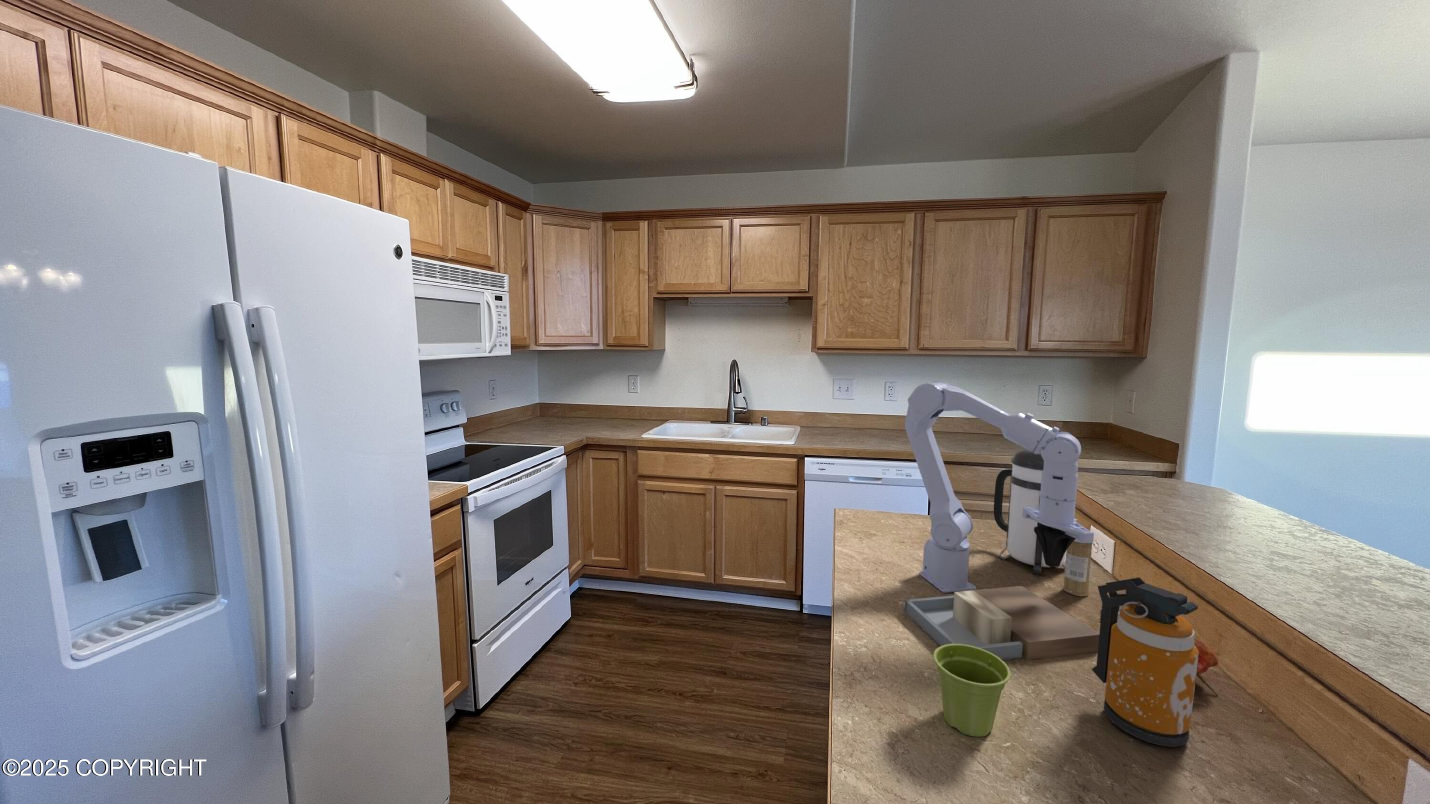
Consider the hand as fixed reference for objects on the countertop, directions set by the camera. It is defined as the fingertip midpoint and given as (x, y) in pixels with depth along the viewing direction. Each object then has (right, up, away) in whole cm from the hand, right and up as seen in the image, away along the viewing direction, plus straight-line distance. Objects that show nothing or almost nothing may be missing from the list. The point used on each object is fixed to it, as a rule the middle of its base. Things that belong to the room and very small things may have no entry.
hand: (1052, 565), depth 101 cm
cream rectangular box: (-15, -7, -6) cm, 18 cm away
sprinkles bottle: (+11, -9, +9) cm, 16 cm away
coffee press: (+10, -7, +24) cm, 27 cm away
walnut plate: (-8, -10, -4) cm, 14 cm away
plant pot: (-30, -13, -28) cm, 44 cm away
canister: (-7, -13, -28) cm, 32 cm away
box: (-21, -10, -7) cm, 25 cm away
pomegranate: (+8, -12, -20) cm, 24 cm away
